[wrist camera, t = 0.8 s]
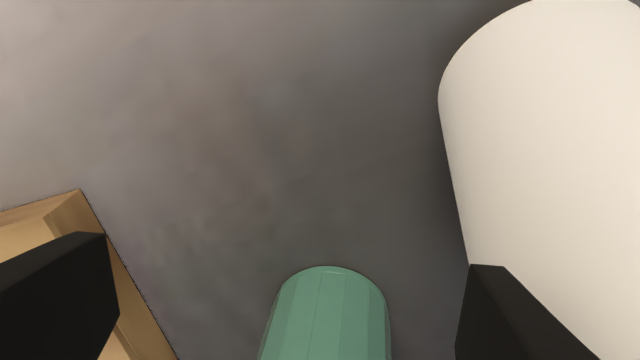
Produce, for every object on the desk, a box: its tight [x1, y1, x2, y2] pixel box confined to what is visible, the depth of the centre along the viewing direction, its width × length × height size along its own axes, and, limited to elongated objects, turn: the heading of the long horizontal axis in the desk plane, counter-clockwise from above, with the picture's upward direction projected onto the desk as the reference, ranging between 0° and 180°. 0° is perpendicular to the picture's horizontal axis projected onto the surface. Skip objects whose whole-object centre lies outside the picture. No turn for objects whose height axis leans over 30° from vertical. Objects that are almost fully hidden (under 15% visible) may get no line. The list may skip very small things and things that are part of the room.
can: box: [438, 0, 640, 360], centre depth 12 cm, size 6×6×12 cm
